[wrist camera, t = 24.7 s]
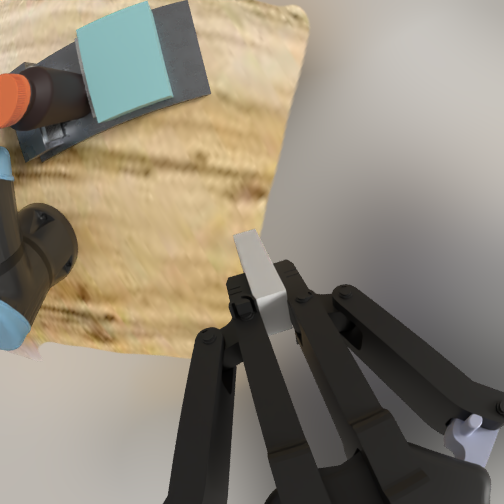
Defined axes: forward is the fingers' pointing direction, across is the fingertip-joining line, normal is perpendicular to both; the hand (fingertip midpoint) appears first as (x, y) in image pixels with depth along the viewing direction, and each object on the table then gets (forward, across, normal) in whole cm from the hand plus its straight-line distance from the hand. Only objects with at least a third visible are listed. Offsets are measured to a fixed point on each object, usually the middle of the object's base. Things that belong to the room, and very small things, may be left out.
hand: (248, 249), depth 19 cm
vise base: (+26, -12, +19) cm, 35 cm away
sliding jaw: (+24, -8, +19) cm, 32 cm away
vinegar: (+25, -16, +18) cm, 34 cm away
